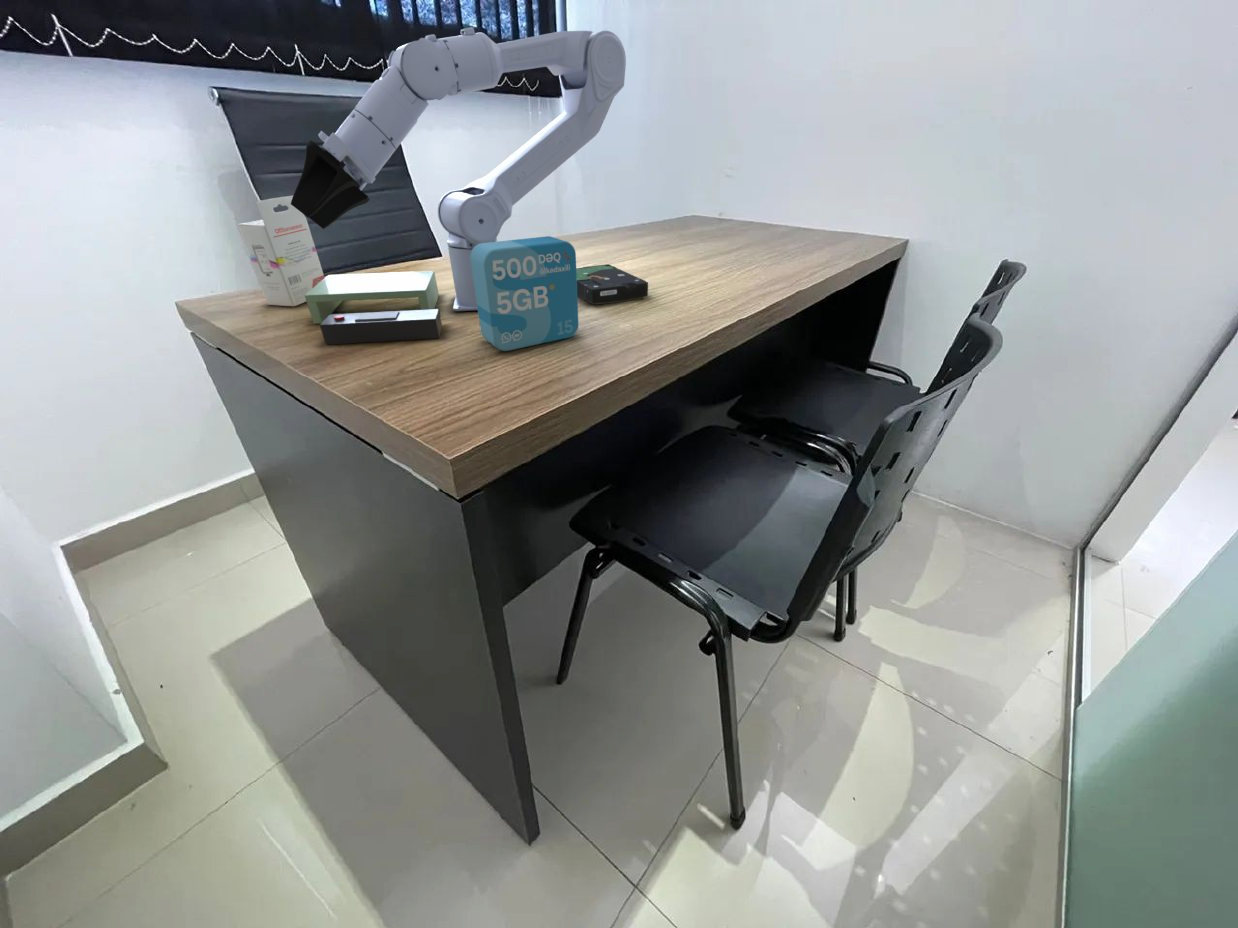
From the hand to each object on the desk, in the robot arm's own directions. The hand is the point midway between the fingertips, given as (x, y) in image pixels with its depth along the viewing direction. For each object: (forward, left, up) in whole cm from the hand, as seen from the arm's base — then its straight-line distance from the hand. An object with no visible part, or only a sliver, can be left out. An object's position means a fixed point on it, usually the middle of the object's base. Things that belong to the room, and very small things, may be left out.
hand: (308, 217), depth 64 cm
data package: (-26, +10, -14) cm, 31 cm away
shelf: (-4, -8, -14) cm, 17 cm away
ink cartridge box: (+10, -16, -14) cm, 24 cm away
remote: (-7, +5, -14) cm, 16 cm away
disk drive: (-39, -12, -14) cm, 43 cm away
